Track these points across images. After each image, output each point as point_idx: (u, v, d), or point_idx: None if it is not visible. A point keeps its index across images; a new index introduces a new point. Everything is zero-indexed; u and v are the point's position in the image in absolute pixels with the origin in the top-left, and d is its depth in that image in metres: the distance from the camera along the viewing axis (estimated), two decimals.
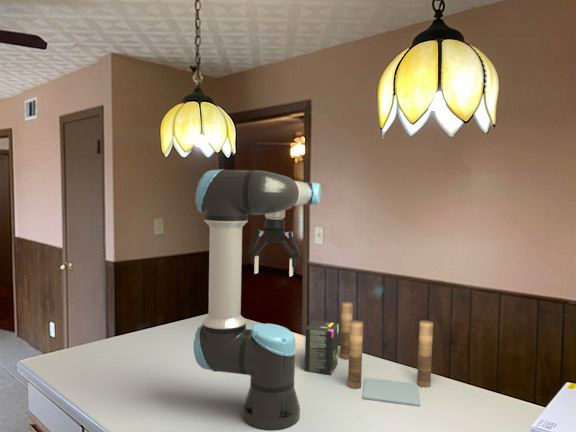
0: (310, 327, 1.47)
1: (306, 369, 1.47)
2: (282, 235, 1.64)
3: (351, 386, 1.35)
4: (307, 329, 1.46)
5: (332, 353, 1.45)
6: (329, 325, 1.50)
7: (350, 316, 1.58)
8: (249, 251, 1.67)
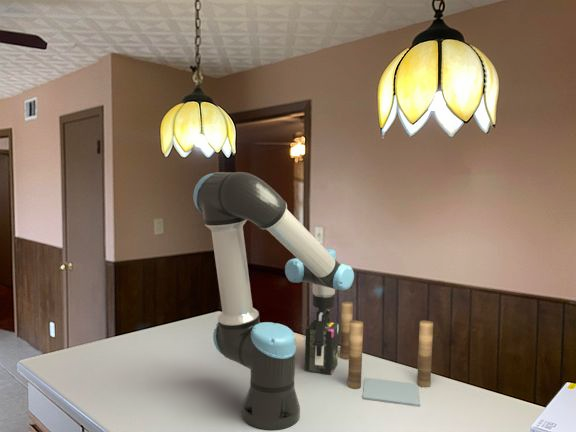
0: (310, 326, 1.47)
1: (306, 369, 1.47)
2: None
3: (351, 386, 1.35)
4: (307, 329, 1.46)
5: (332, 353, 1.45)
6: (329, 325, 1.50)
7: (350, 316, 1.58)
8: None
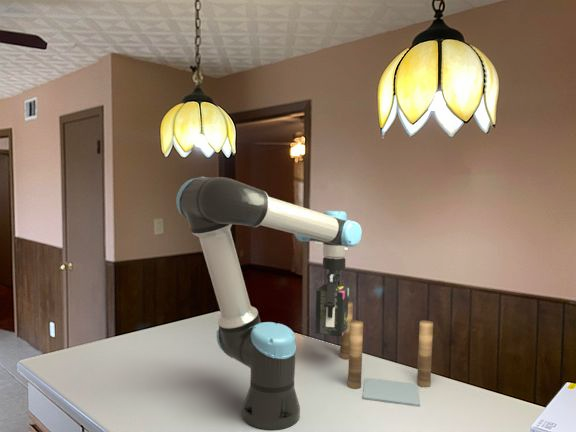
0: (321, 289, 1.46)
1: (317, 331, 1.45)
2: None
3: (351, 386, 1.35)
4: (318, 290, 1.44)
5: (343, 315, 1.44)
6: (339, 288, 1.48)
7: (350, 316, 1.58)
8: None
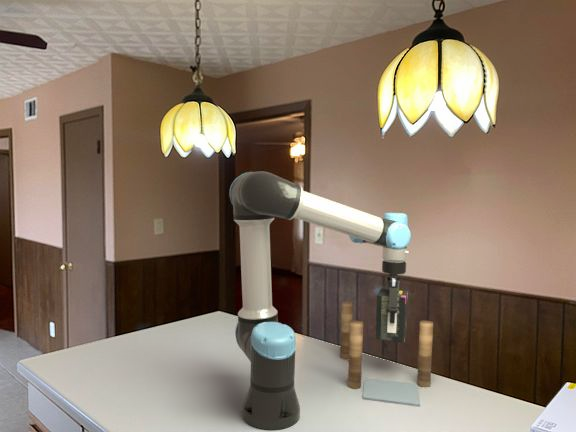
0: (381, 293, 1.42)
1: (377, 337, 1.41)
2: (390, 281, 1.41)
3: (351, 386, 1.35)
4: (379, 295, 1.40)
5: (405, 320, 1.39)
6: (399, 292, 1.44)
7: (350, 316, 1.58)
8: None
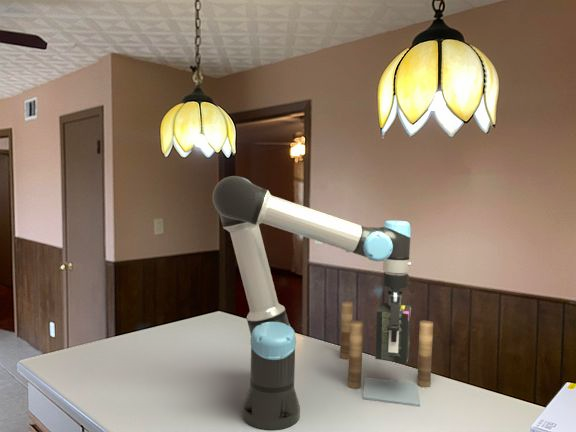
0: (382, 309, 1.29)
1: (377, 357, 1.29)
2: None
3: (351, 386, 1.35)
4: (379, 311, 1.28)
5: (408, 339, 1.27)
6: (401, 307, 1.32)
7: (350, 316, 1.58)
8: None
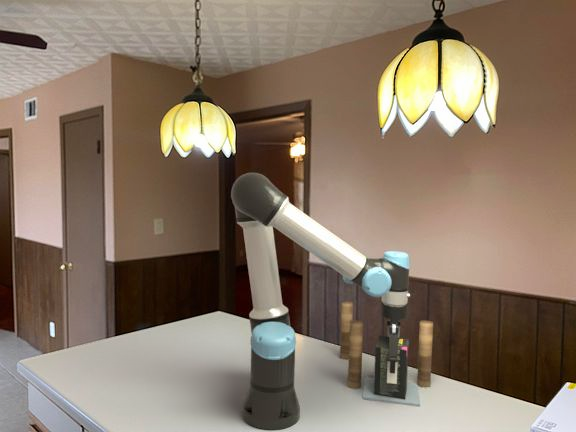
0: (380, 344, 1.30)
1: (376, 392, 1.30)
2: None
3: (351, 386, 1.35)
4: (377, 347, 1.29)
5: (406, 374, 1.28)
6: (399, 342, 1.33)
7: (350, 316, 1.58)
8: None
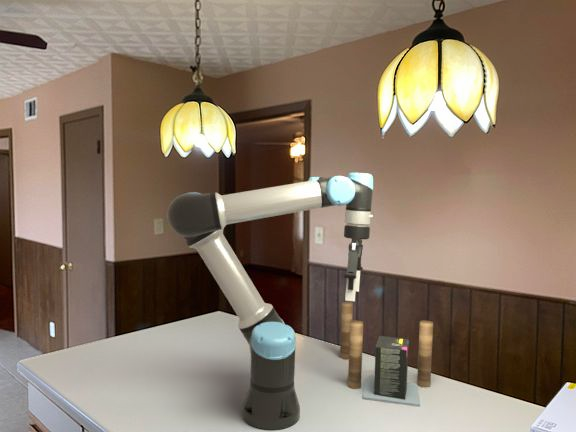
0: (380, 344, 1.30)
1: (376, 392, 1.30)
2: None
3: (351, 386, 1.35)
4: (377, 347, 1.29)
5: (406, 374, 1.28)
6: (399, 342, 1.33)
7: (350, 316, 1.58)
8: None
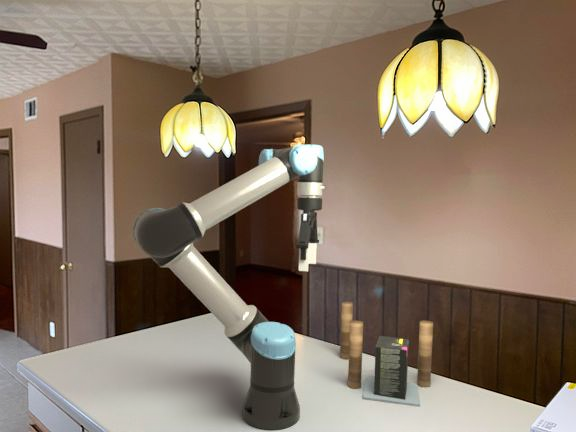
0: (380, 344, 1.30)
1: (376, 392, 1.30)
2: None
3: (351, 386, 1.35)
4: (377, 347, 1.29)
5: (406, 374, 1.28)
6: (399, 342, 1.33)
7: (350, 316, 1.58)
8: None
